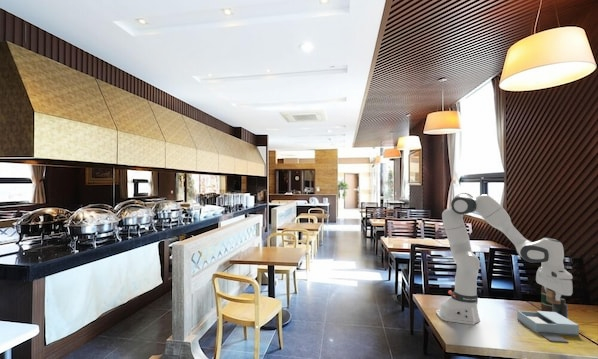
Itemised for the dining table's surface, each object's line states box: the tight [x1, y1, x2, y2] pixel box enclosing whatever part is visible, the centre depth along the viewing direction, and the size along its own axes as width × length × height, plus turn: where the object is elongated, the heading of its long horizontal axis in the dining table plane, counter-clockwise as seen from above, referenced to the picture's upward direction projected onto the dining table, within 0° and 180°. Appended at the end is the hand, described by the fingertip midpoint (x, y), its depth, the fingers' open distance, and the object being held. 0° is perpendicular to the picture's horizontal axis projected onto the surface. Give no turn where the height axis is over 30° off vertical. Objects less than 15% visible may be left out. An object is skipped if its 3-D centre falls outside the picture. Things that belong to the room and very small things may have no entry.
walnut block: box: [546, 289, 562, 304], centre depth 150 cm, size 4×4×6 cm
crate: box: [516, 310, 580, 337], centre depth 161 cm, size 20×16×6 cm
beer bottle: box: [540, 285, 552, 312], centre depth 183 cm, size 8×8×24 cm
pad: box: [538, 333, 569, 344], centre depth 149 cm, size 8×8×1 cm
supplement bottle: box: [552, 297, 569, 319], centre depth 171 cm, size 7×7×12 cm
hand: (553, 298), depth 150 cm, fingers closed on walnut block, 4 cm apart
